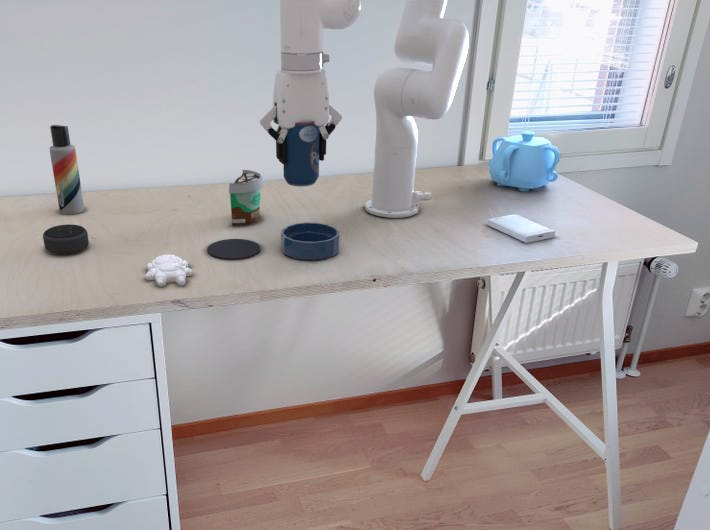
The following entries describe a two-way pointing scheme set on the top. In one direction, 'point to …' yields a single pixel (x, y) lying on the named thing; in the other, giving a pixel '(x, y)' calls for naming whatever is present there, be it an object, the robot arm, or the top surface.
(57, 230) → the smart speaker
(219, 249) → the coaster
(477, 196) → the top surface
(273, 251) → the top surface
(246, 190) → the food container
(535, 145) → the decorative pot
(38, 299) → the top surface
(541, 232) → the hard drive
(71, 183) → the lotion bottle
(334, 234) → the bowl
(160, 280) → the astronaut figurine
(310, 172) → the soda can
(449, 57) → the robot arm
